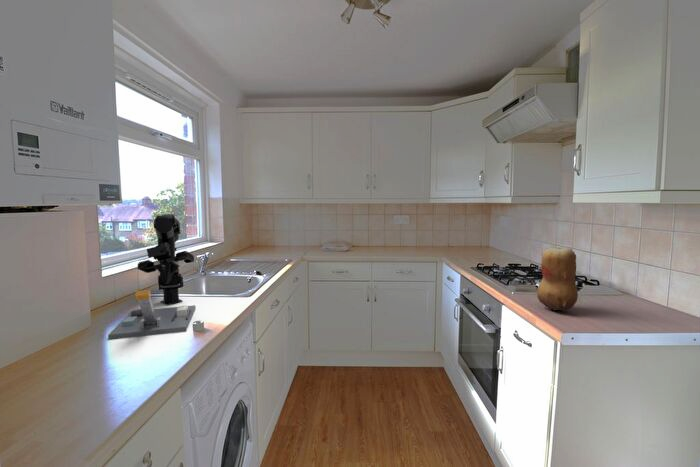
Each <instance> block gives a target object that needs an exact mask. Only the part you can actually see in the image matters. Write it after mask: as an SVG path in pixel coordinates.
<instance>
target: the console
mask: <svg viewBox="0 0 700 467" xmlns="http://www.w3.org/2000/svg"><path fill="white" fill-rule="evenodd" d="M180 308H187V316H185V317H177V309H180ZM153 309H154V312H155V316H156V319H157V325H152V326H144V318H143V314H142V311H141V308H140V309H139V308H138V309H135V310H134V309H133V310H131V311H130V312H129V313H128V314H127V315H126V316H125V318H123V320H121V321H120V322H119V323H118V324H117V325H116V326H115V327H114V329H112V330H111V332H110V333H108V335H107V336H108V340H116V339H118V340H119V339H126V338H134V337H136V338H137V337H143V336H153V335H154V336H155V335H163V334H171V333H180V332H187V330H188V328H189V325H190V323H191V321H192V319H193V317H194V314H195V311H196V305H179V306H173V307H164V308H163V307H161V308H153Z"/></svg>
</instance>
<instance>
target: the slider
mask: <svg viewBox="0 0 700 467" xmlns="http://www.w3.org/2000/svg"><path fill="white" fill-rule="evenodd" d="M185 316H187V308H180V309H177V317H185Z"/></svg>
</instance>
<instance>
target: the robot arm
mask: <svg viewBox="0 0 700 467" xmlns="http://www.w3.org/2000/svg"><path fill="white" fill-rule="evenodd" d="M180 224H181V223H180V221H179V220H178V219H177V217H175V214H173V213H168V214H167V213H165V214H161V215H156V218H154V220H153V228H154V229H155V233H156V234H155V235H156V237H157V245H155V246H154V247H150V248H146V253H147V257H148V259H147V260H142V261H139V262H138V263H137V268H136V269H137V270H140V271H142V272H144V273H146V274H147V273H148V274H149V273H154V272H157V270H158V273H159V275H158V276H157V282H158V291H163V292H162V294H163V300H160V303H161V304H164V305H166V306H169V305H172V304H178V303H181V302H183V300H182V299H180V297H179V294H180V293H179V289H182V288H183V287H184V276H182V273H180V264H179V262H181V261H183V262H184V263H185V264H190V263H193V262H195V258H194V254H192V253H190V252H188V251H187V250H183V251H180V252H177V253H176V251H177V247H176V243H177V241H179V239H180V238H179V237H180V236H179V235H181V226H180ZM150 258H153V260H154V261H152V260H149V259H150Z"/></svg>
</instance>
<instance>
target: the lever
mask: <svg viewBox="0 0 700 467" xmlns="http://www.w3.org/2000/svg"><path fill="white" fill-rule="evenodd" d="M151 295H152V294H151V290H150V289H148V290H147V289H145V290H136V291H135V294H134V297H135V300H136V301H137V303H138V304H139V308H140V309H141V311H142V314H143V318H144V326H152V325H157V319H156V316H155V312H154V309H155V308H154V306H153V302H152V298H151Z"/></svg>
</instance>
